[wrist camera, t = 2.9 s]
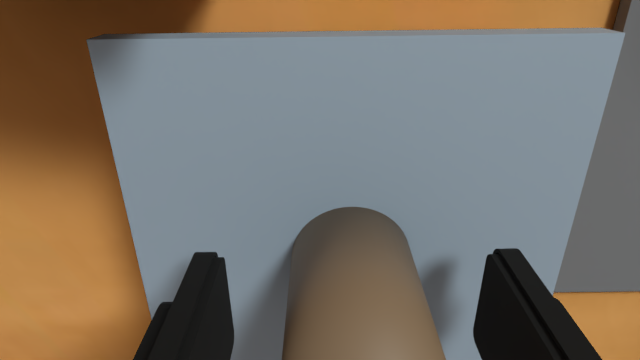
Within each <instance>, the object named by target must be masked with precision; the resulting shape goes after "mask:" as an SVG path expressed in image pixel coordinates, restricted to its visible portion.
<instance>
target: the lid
mask: <svg viewBox="0 0 640 360" xmlns="http://www.w3.org/2000/svg"><path fill="white" fill-rule="evenodd" d="M624 37H625V33H624V32H619V31H614V30H609V29H605V28H547V29H467V30H387V31H308V32H228V33H148V34H103V35H100V36H97V37H93V38H90V39H87V44H88V49H89V53H90V57H91V62H92V66H93V70H94V74H95V79H96V83H97V87H98V92H99V96H100V100H101V104H102V109H103V113H104V117H105V122H106V126H107V130H108V134H109V139H110V143H111V147H112V151H113V156H114V160H115V164H116V169H117V173H118V177H119V181H120V186H121V190H122V194H123V199H124V203H125V207H126V211H127V216H128V220H129V224H130V229H131V233H132V237H133V241H134V246H135V250H136V254H137V259H138V263H139V267H140V271H141V276H142V280H143V284H144V289H145V293H146V297H147V301H148V306H149V310H150V314H151V319H153V317H154V314H155V312H156V310H157V308H158V307H159V305H160V304H161V303H162V302H173V300H174V298H175V296H176V293H177V291H178V289H179V287H180V284H181V282H182V280H183V277H184V275H185V273H186V270H187V268H188V266H189V264H190V261H191V259H192V257H193V255H194V253H195V252H217V254H218V257H224V259H225V264H226V272H227V279H228V287H229V295H230V303H231V311H232V318H233V326H234V345H233V350H232V354H231V359H230V360H482V359H481V356H480V354H479V352H478V349H477V347H476V344H475V342H474V337H473V327H474V321H475V316H476V311H477V305H478V300H479V294H480V289H481V284H482V278H483V273H484V267H485V262H486V258H487V255H488V254H493V251H494V250H495V249H507V248H517V249H519V250H520V251H521V252H522V254H523V255H524V257H525V258H526V259H527V261H528V262H529V264H530V265H531V266H532V268H533V269H534V271H535V272H536V273H537V275H538V276H539V278H540V279H541V280H542V282H543V283H544V285H545V286H546V287H547V289H548V290H549V292H550V293H551V294H552V296H553V292H554V289H555V285H556V282H557V278H558V274H559V271H560V267H561V264H562V260H563V256H564V253H565V249H566V246H567V242H568V238H569V235H570V231H571V228H572V224H573V220H574V217H575V213H576V210H577V206H578V202H579V199H580V195H581V191H582V188H583V184H584V181H585V177H586V173H587V170H588V166H589V163H590V159H591V155H592V152H593V148H594V145H595V141H596V137H597V134H598V130H599V127H600V123H601V119H602V116H603V112H604V109H605V105H606V101H607V98H608V94H609V91H610V87H611V83H612V80H613V76H614V73H615V69H616V65H617V62H618V58H619V55H620V51H621V47H622V44H623V40H624Z"/></svg>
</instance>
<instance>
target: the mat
mask: <svg viewBox="0 0 640 360" xmlns="http://www.w3.org/2000/svg"><path fill="white" fill-rule="evenodd" d="M613 30H614V31H619V32H624V33H625V37H624V40H623V44H622V47H621V51H620V55H619V58H618V62H617V65H616V69H615V73H614V76H613V80H612V83H611V87H610V91H609V94H608V98H607V101H606V105H605V109H604V112H603V116H602V119H601V123H600V127H599V130H598V134H597V137H596V141H595V145H594V148H593V152H592V155H591V159H590V163H589V166H588V170H587V173H586V177H585V181H584V184H583V188H582V191H581V195H580V199H579V202H578V206H577V210H576V213H575V217H574V220H573V224H572V228H571V231H570V235H569V238H568V242H567V246H566V249H565V253H564V256H563V260H562V264H561V267H560V271H559V274H558V278H557V282H556V285H555V289H554V292H615V291H640V0H621V1H620V5H619V9H618V12H617V16H616V20H615V24H614V28H613Z"/></svg>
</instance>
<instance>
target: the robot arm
mask: <svg viewBox="0 0 640 360" xmlns="http://www.w3.org/2000/svg"><path fill="white" fill-rule="evenodd" d="M473 337H474V342H475V344H476V347H477V349H478V352H479V354H480V356H481V359H482V360H602V359H601V357H600V356H599V355H598V353H597V352H596V351H595V349H594V348H593V346H592V345H591V344H590V342H589V341H588V339H587V338H586V337H585V335H584V334H583V333H582V331H581V330H580V328H579V327H578V326H577V324H576V323H575V322H574V320H573V319H572V317H571V316H570V315H569V313H568V312H567V310H566V309H565V308H564V306H563V305H562V304H561V303H560V301H559V300H558V299H556V298H554V297H553V296H552V294H551V293H550V292H549V290H548V289H547V287H546V286H545V285H544V283H543V282H542V280H541V279H540V278H539V276H538V275H537V273H536V272H535V271H534V269H533V268H532V266H531V265H530V264H529V262H528V261H527V259H526V258H525V257H524V255H523V254H522V252H521V251H520V250H519V249H517V248H507V249H495V250H494V251H493V254H488V255H487V258H486V262H485V267H484V273H483V278H482V284H481V289H480V294H479V300H478V305H477V311H476V316H475V321H474V327H473ZM233 345H234V326H233V318H232V311H231V303H230V295H229V287H228V279H227V272H226V264H225V259H224V257H218V254H217V252H195V253H194V255H193V257H192V259H191V261H190V264H189V266H188V268H187V270H186V273H185V275H184V277H183V280H182V282H181V284H180V287H179V289H178V291H177V293H176V296H175V298H174V300H173V302H162V303H161V304H160V305H159V307H158V308H157V310H156V312H155V314H154V317H153V319H152V321H151V323H150V325H149V327H148V329H147V331H146V333H145V336H144V338H143V340H142V342H141V344H140V346H139V348H138V350H137V352H136V355H135V357H134V359H133V360H230V359H231V354H232V350H233Z"/></svg>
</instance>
